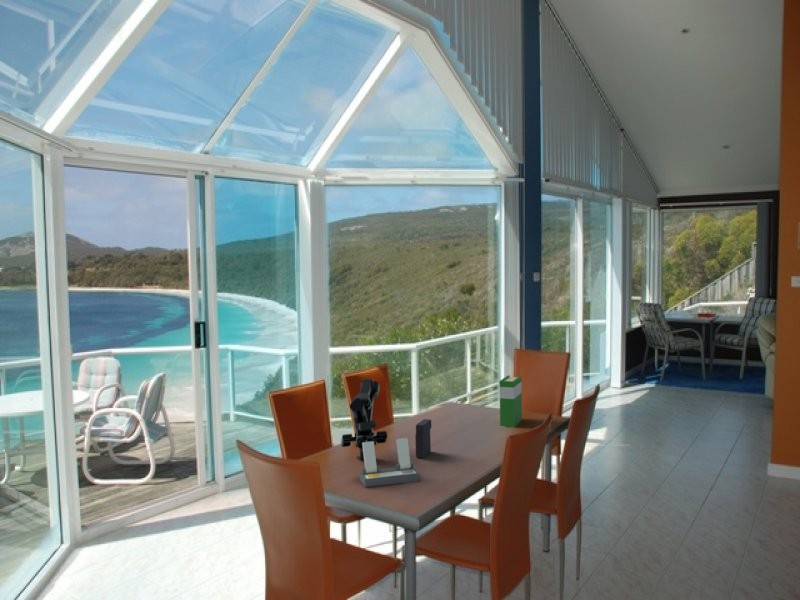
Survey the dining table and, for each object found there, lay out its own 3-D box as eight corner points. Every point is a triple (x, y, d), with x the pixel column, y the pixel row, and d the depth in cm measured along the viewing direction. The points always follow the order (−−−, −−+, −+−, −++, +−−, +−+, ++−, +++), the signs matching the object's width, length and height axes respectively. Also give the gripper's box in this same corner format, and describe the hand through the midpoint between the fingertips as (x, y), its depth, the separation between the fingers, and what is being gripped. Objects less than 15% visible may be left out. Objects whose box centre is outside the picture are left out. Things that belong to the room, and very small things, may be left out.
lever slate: (399, 469, 255) (395, 439, 259) (409, 468, 256) (406, 438, 260) (400, 469, 253) (397, 438, 257) (411, 468, 255) (407, 437, 258)
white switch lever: (365, 473, 251) (362, 443, 255) (376, 472, 253) (372, 441, 257) (366, 472, 250) (363, 442, 254) (377, 471, 251) (373, 441, 255)
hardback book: (508, 418, 347) (507, 375, 345) (521, 419, 344) (521, 376, 342) (500, 426, 330) (499, 381, 329) (514, 427, 327) (513, 381, 326)
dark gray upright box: (423, 450, 291) (422, 418, 290) (432, 451, 289) (431, 419, 288) (414, 457, 280) (414, 424, 279) (424, 458, 279) (423, 425, 278)
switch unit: (359, 478, 255) (359, 465, 254) (411, 472, 260) (411, 459, 260) (364, 487, 245) (364, 473, 245) (419, 480, 251) (418, 467, 250)
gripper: (341, 415, 258) (347, 449, 248) (385, 411, 263) (393, 444, 253) (338, 429, 266) (344, 463, 256) (381, 425, 271) (388, 458, 261)
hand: (367, 457), depth 256 cm, fingers closed
